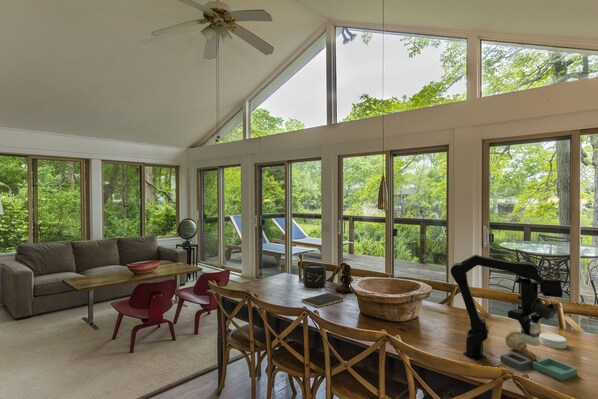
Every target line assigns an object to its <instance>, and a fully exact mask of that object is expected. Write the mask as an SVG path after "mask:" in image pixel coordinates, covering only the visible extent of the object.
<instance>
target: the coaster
mask: <svg viewBox="0 0 598 399" xmlns="http://www.w3.org/2000/svg"><path fill="white" fill-rule="evenodd" d="M539 341H540V343H541V344H542V345H544V346H547V347H550V348H553V349H559V350H560V349H561V350H562V349H566V348H567V346H568V345H567V344H568V340H567V339H566V337H564V336H562V335H560V334H556V333H552V332H541V333H539Z"/></svg>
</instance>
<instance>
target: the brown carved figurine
mask: <svg viewBox="0 0 598 399" xmlns="http://www.w3.org/2000/svg"><path fill="white" fill-rule="evenodd" d="M340 269H341V274H342V275H341V276H340V278H339V280H340V282H341V284H338V285H336V286H335V290H336V291H338V292H340V294H343V292H344V293H346V292H348V293H349V292H350V293H351V292H352V291H351V289H350V288H349V285H351V284H352V278H351V277H352V276H351V269H352V268H351V266H350V265H349V264H348V263H346V262H342V263H341V264H340Z"/></svg>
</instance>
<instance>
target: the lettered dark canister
mask: <svg viewBox="0 0 598 399" xmlns="http://www.w3.org/2000/svg"><path fill="white" fill-rule="evenodd" d="M302 270H303V271H302V280H303V281H302V284H303V285H304V287H305V288H306V289H314V290H317V289H322V288H325V287H326V285H327V281H326V280H327V272H326V271H327V267H326V266H325V265H324V264H321V263H307V264H305V265H304V266H303V267H302Z"/></svg>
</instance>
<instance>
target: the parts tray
mask: <svg viewBox="0 0 598 399" xmlns="http://www.w3.org/2000/svg"><path fill="white" fill-rule="evenodd" d="M532 370H535V371H537V372H539V373H541V374H543V375H546V376H549V377H550V378H553V379H555V380H558V381H560V382H564V381H567V380H569V379H572V378H575V377H577V376H578V368H576V367H574V366H572V365H569V364H566V363H564V362H561V361H558V360H557V359H556V360H555V359H553V358H551V357H545V358H542V359H539V360H538V359H537V362H534V361H533V367H532Z"/></svg>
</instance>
